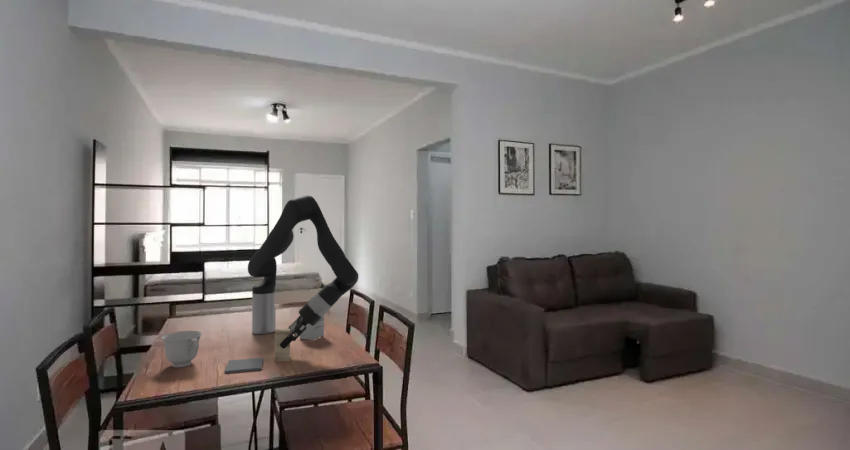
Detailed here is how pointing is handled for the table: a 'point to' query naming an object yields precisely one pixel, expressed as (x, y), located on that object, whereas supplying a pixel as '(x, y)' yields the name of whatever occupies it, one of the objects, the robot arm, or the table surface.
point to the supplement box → (313, 330)
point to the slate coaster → (244, 365)
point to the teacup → (181, 347)
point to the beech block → (279, 351)
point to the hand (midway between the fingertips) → (281, 343)
